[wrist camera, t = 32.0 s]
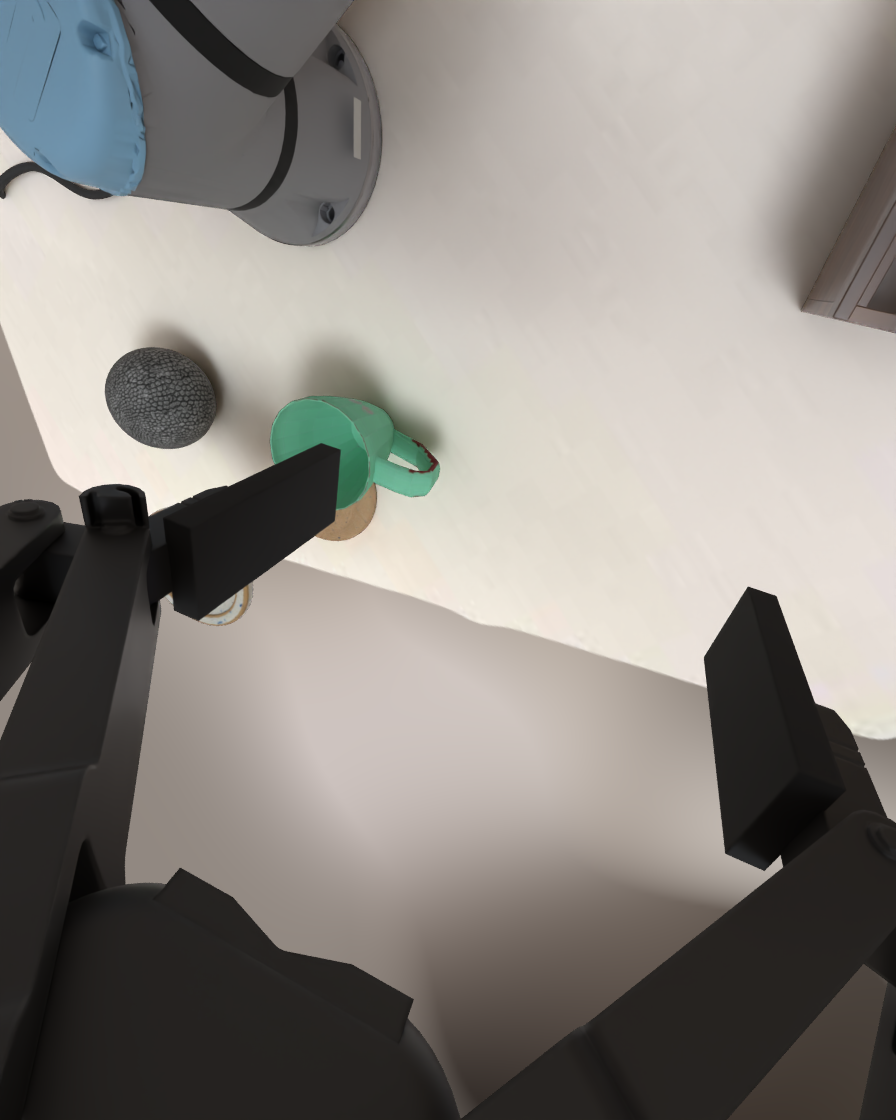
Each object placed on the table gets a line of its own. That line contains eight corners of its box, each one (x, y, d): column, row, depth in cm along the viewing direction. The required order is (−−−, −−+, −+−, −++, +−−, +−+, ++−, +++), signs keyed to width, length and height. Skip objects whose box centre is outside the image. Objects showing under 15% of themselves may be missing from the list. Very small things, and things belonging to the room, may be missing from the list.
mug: (327, 460, 55) (269, 491, 47) (333, 367, 50) (269, 383, 42) (452, 502, 52) (413, 543, 44) (473, 408, 47) (433, 434, 39)
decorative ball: (147, 367, 58) (62, 382, 50) (200, 325, 53) (115, 333, 45) (198, 448, 61) (125, 474, 53) (252, 415, 56) (181, 438, 48)
